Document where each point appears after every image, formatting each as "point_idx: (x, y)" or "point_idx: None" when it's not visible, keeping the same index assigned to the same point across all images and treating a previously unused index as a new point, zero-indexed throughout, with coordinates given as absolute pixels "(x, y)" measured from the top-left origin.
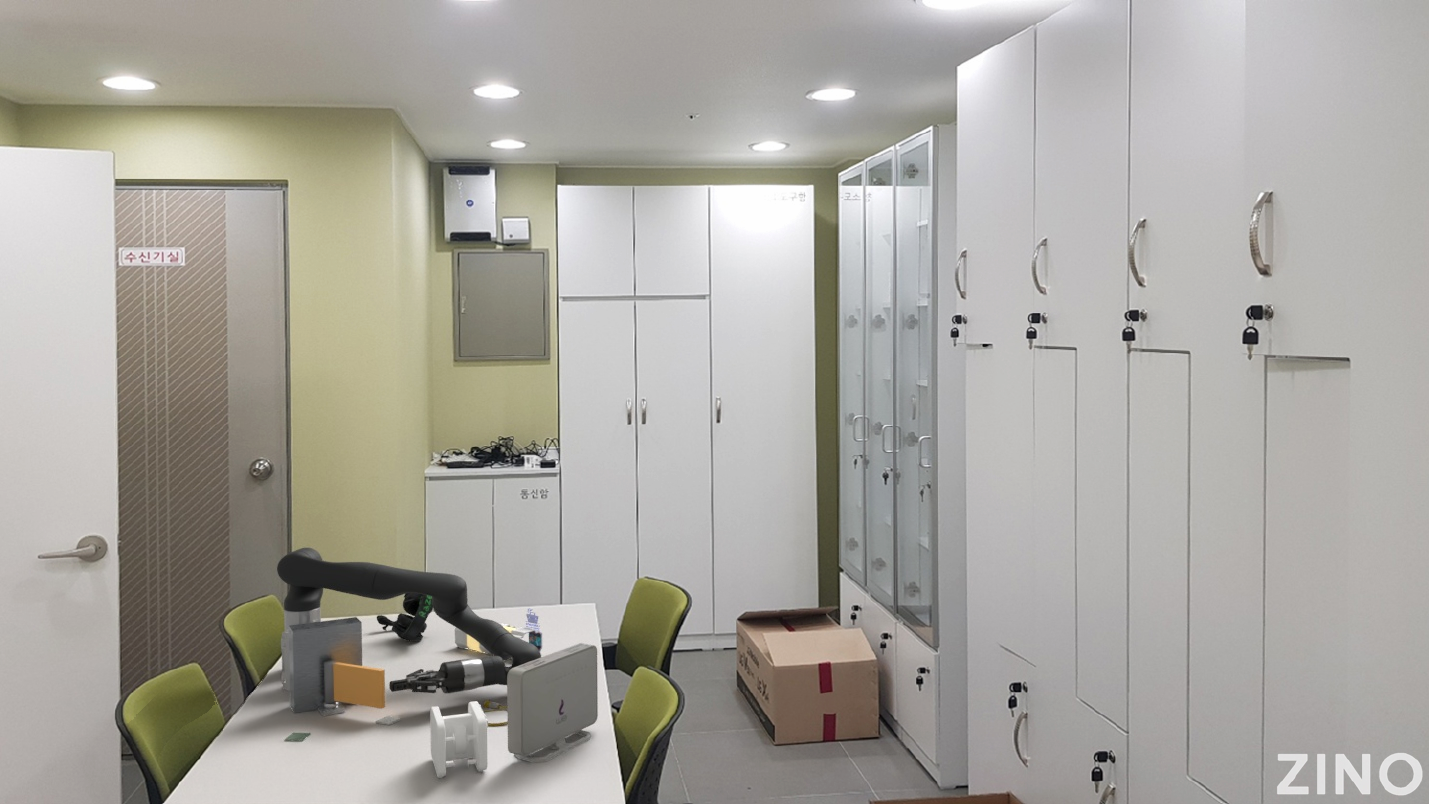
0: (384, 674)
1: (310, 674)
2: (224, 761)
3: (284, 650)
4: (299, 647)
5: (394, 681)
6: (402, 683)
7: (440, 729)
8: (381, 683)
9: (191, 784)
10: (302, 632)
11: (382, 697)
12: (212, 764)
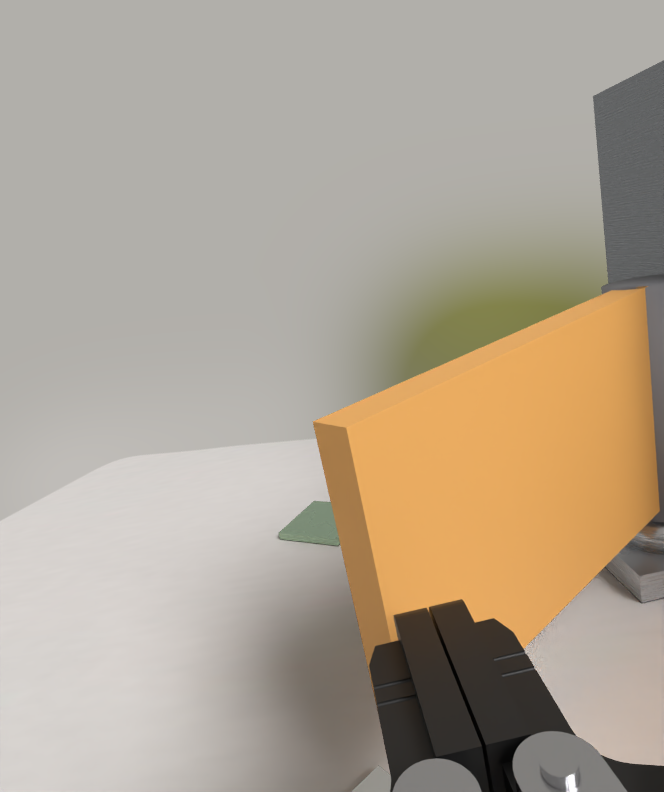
0: (357, 477)
1: None
2: (240, 458)
3: None
4: (616, 182)
5: (439, 628)
6: (390, 725)
7: None
8: (342, 538)
9: (148, 455)
10: (619, 98)
11: None
12: (237, 450)
